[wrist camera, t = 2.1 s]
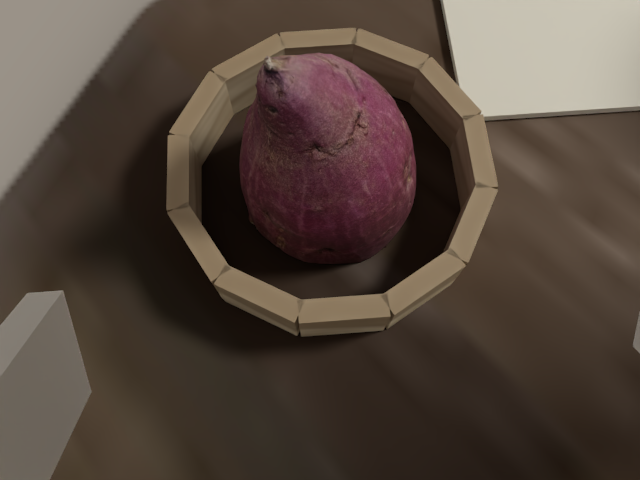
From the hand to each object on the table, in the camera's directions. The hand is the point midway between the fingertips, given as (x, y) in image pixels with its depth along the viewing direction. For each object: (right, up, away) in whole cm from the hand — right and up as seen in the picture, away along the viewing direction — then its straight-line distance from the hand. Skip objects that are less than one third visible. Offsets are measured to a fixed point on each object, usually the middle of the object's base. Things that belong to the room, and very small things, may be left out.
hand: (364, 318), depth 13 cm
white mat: (+15, +16, +26) cm, 34 cm away
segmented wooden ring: (0, +5, +22) cm, 22 cm away
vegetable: (0, +5, +22) cm, 22 cm away
